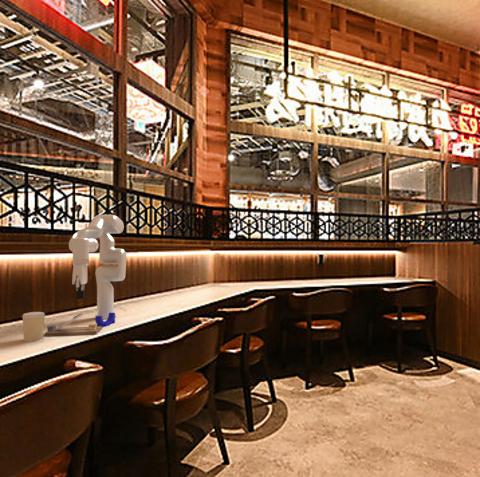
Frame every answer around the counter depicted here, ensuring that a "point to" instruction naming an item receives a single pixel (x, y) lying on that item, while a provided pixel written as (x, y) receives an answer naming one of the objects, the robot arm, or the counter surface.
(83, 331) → the board
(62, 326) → the strap
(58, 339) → the counter surface
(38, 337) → the coffee cup
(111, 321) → the cable clip
